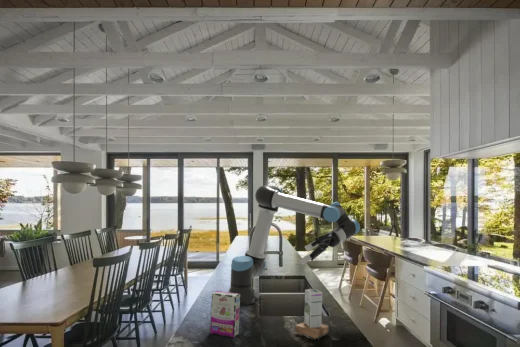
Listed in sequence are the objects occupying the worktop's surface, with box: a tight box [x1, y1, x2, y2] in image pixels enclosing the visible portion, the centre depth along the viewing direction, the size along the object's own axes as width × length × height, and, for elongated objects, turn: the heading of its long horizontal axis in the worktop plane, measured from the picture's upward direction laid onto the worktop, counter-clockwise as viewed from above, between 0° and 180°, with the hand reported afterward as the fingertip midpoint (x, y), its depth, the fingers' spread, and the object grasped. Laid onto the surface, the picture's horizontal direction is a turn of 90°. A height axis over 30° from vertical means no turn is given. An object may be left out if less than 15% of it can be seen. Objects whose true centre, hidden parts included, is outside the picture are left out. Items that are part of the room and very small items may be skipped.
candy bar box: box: [209, 290, 241, 338], centre depth 150 cm, size 11×5×16 cm, turn 69°
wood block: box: [294, 321, 330, 338], centre depth 153 cm, size 10×10×4 cm
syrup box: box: [303, 288, 323, 328], centre depth 154 cm, size 6×6×14 cm
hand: (303, 256), depth 176 cm, fingers open, 13 cm apart
